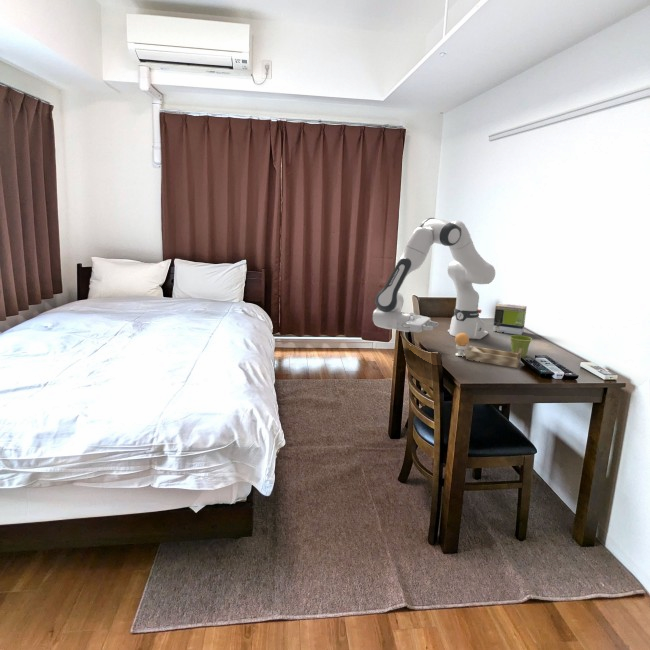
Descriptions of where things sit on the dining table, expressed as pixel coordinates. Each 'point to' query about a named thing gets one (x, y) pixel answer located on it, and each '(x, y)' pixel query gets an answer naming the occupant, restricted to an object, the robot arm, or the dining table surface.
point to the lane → (494, 356)
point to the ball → (462, 339)
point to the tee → (460, 350)
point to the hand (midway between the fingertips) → (435, 326)
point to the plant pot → (520, 344)
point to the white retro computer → (509, 318)
